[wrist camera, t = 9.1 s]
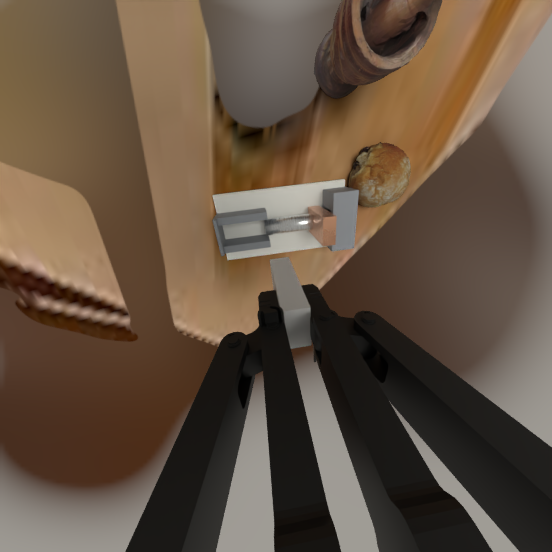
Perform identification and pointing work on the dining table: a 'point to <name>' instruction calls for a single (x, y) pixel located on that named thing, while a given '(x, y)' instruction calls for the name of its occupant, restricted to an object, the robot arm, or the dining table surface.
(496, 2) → the dining table surface
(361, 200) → the bread roll
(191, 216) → the dining table surface
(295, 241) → the guide base
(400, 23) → the mortar and pestle
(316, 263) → the dining table surface
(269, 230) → the slip tube
